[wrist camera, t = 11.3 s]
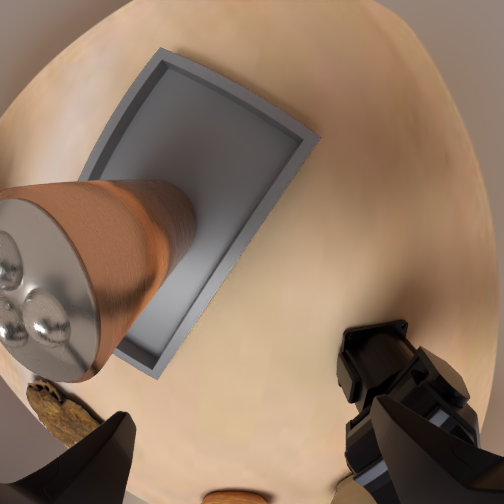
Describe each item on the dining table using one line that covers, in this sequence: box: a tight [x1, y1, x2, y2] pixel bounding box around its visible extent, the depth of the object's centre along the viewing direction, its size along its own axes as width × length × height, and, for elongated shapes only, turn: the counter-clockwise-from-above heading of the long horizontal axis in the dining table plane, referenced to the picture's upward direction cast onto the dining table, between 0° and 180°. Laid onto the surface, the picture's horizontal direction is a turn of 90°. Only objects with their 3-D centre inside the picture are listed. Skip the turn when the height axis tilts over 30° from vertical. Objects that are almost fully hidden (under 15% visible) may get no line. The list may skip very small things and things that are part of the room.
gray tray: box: [78, 47, 321, 380], centre depth 18 cm, size 13×22×2 cm, turn 146°
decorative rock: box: [26, 378, 100, 448], centre depth 24 cm, size 11×4×15 cm
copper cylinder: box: [0, 179, 197, 383], centre depth 12 cm, size 6×6×14 cm
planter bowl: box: [331, 474, 377, 504], centre depth 25 cm, size 16×16×11 cm
